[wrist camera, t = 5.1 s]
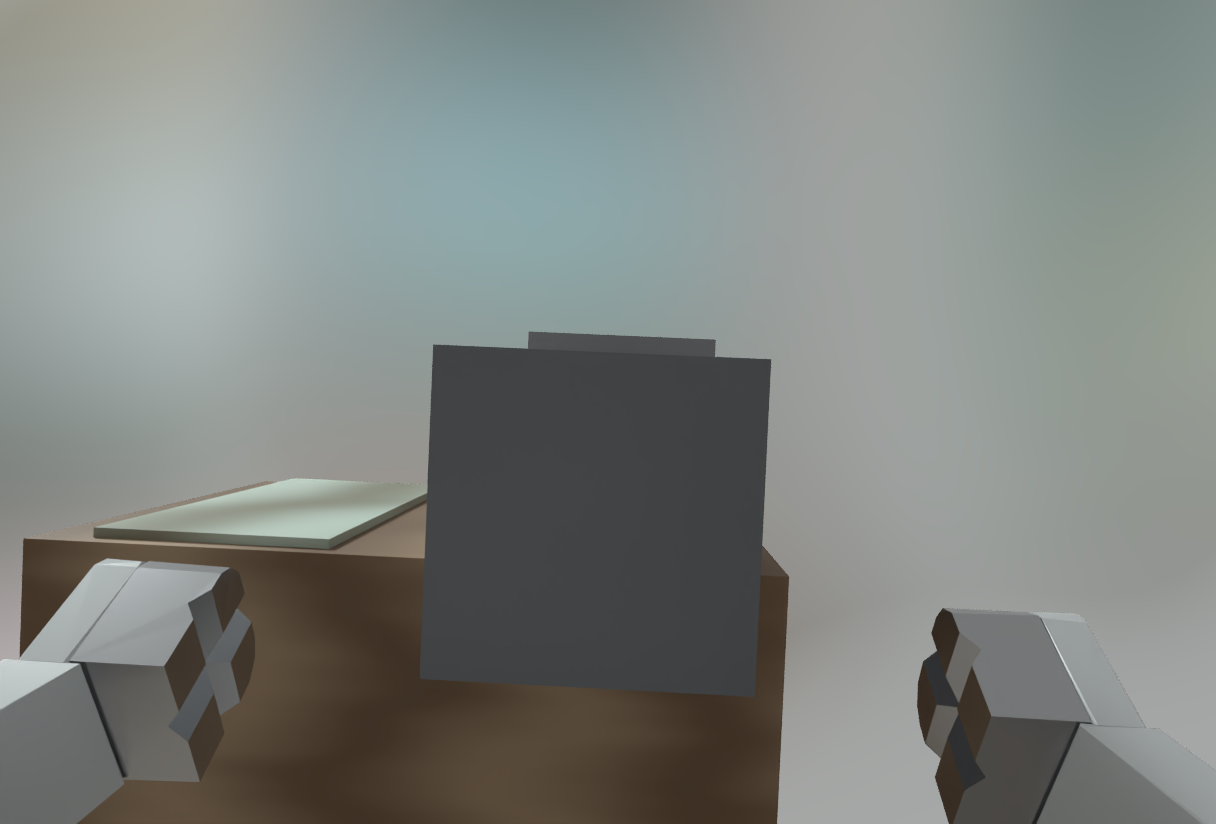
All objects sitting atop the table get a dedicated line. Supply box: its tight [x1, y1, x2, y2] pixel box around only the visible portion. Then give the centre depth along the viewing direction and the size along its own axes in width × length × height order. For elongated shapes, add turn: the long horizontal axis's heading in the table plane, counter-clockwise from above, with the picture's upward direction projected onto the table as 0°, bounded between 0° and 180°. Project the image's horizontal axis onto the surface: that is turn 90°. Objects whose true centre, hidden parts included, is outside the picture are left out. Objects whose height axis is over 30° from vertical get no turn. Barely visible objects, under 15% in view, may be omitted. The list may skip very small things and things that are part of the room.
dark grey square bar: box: [420, 332, 771, 697], centre depth 19 cm, size 5×18×5 cm, turn 178°
